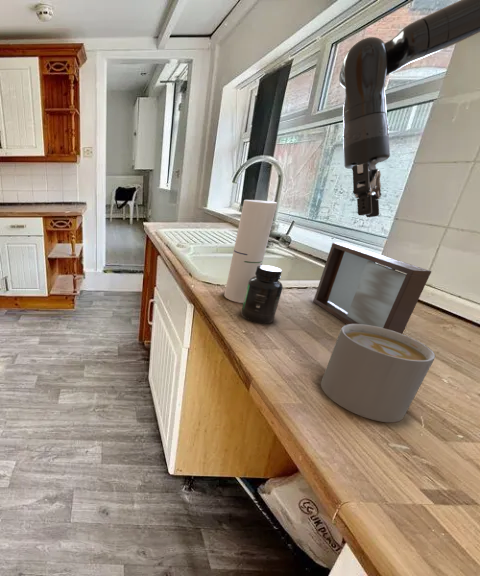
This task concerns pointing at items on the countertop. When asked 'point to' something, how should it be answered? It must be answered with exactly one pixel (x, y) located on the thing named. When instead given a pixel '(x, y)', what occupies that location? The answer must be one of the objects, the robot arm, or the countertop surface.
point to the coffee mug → (375, 371)
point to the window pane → (346, 280)
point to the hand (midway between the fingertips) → (368, 215)
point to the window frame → (375, 290)
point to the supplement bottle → (262, 295)
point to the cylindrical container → (249, 246)
